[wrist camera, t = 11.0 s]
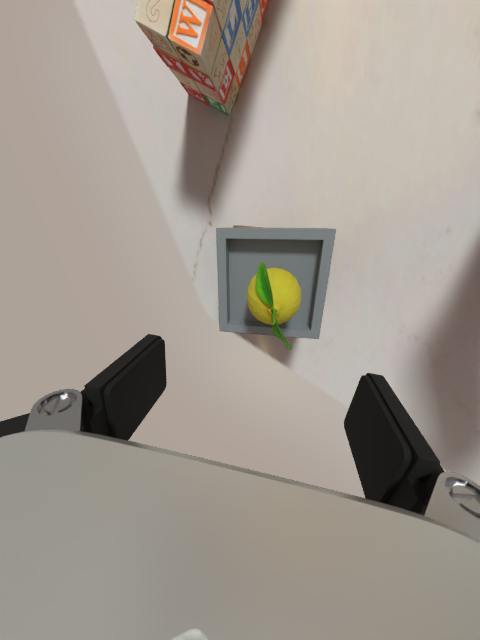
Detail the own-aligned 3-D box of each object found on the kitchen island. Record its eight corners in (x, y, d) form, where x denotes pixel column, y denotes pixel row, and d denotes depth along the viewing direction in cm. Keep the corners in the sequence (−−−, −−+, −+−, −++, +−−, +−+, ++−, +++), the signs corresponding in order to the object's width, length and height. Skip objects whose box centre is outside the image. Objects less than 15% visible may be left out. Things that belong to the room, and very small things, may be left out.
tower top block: (324, 228, 28) (336, 229, 22) (312, 318, 32) (318, 339, 27) (229, 227, 30) (216, 228, 24) (230, 312, 34) (219, 331, 28)
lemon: (286, 317, 28) (295, 368, 19) (241, 303, 28) (229, 347, 19) (309, 266, 25) (332, 298, 16) (259, 249, 25) (254, 273, 16)
